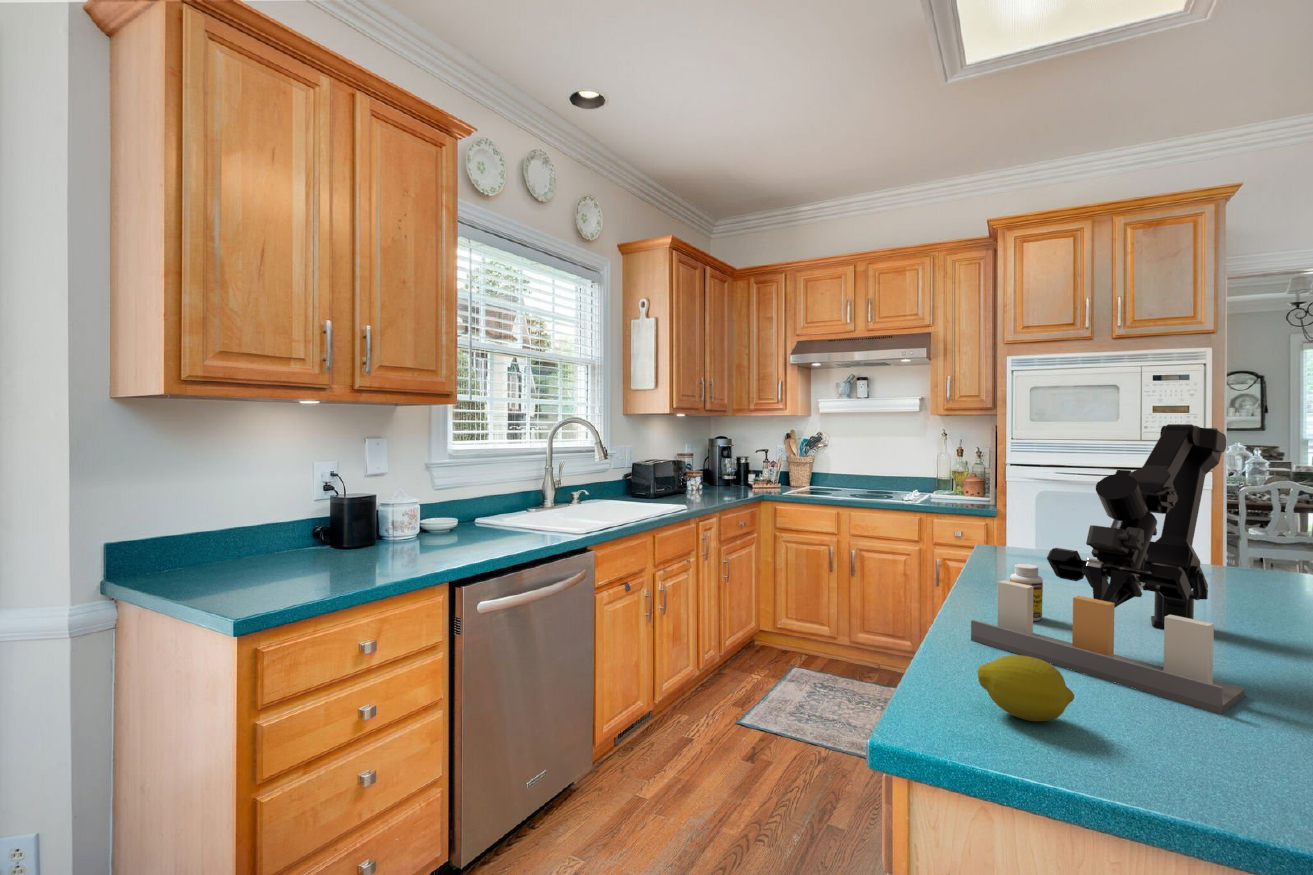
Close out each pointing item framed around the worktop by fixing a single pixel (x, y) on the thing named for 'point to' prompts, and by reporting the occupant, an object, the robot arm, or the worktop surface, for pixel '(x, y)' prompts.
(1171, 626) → the key
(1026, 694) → the lemon
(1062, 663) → the long grey base rail
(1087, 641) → the key middle
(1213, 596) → the worktop surface
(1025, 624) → the key
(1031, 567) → the supplement bottle
